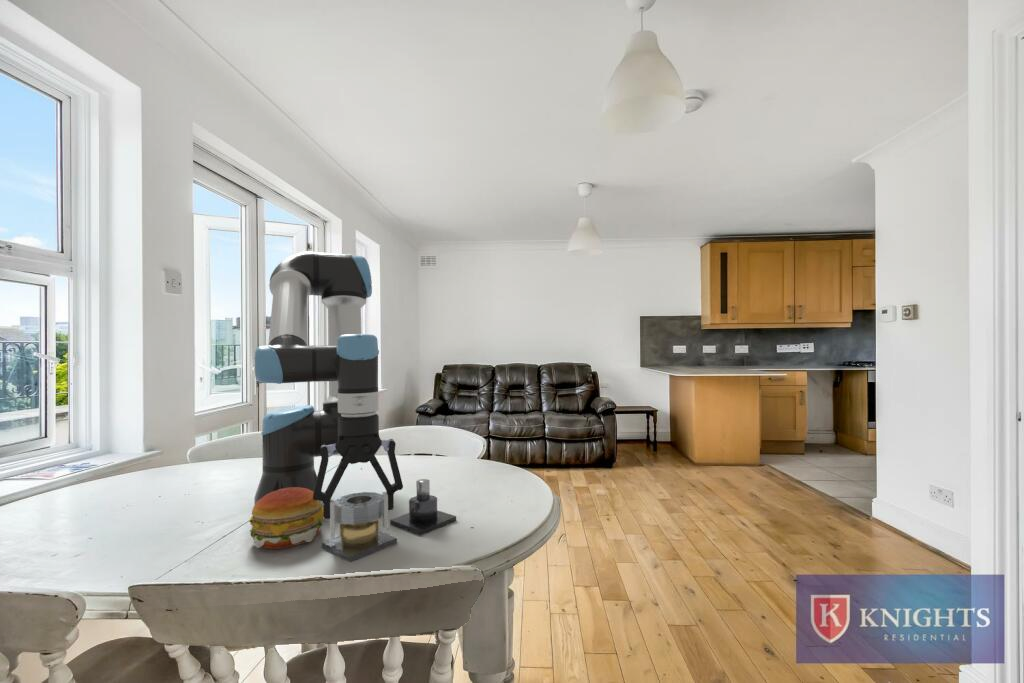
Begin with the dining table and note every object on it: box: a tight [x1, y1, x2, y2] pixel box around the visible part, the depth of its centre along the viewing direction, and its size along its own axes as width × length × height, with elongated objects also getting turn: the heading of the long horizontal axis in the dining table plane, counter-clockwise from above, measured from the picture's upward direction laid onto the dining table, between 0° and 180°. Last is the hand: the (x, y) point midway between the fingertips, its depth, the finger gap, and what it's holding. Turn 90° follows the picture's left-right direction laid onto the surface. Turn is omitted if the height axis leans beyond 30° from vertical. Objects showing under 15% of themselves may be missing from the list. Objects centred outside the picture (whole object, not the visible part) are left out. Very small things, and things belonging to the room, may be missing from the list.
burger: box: [249, 487, 324, 550], centre depth 92 cm, size 13×14×10 cm
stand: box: [389, 478, 457, 537], centre depth 100 cm, size 10×10×9 cm
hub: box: [321, 519, 398, 563], centre depth 88 cm, size 10×10×7 cm
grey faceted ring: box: [334, 491, 384, 525], centre depth 89 cm, size 9×9×3 cm
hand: (359, 530), depth 89 cm, fingers closed on grey faceted ring, 9 cm apart
